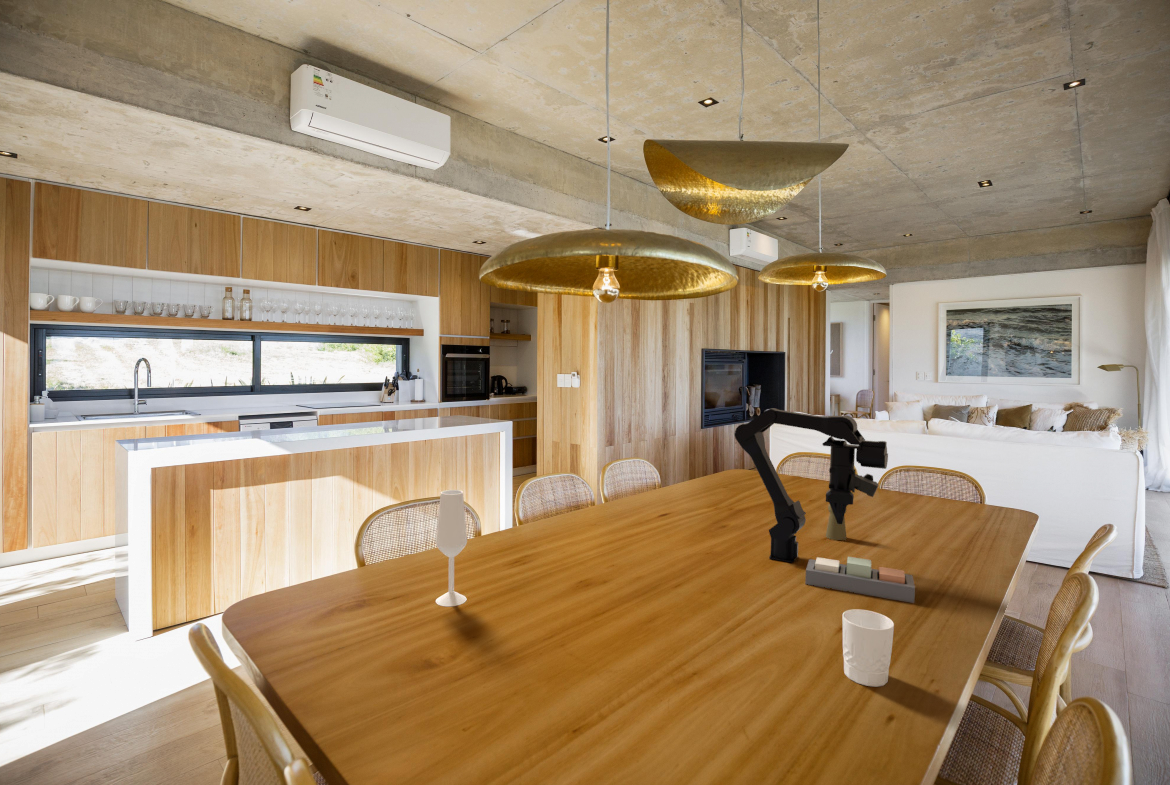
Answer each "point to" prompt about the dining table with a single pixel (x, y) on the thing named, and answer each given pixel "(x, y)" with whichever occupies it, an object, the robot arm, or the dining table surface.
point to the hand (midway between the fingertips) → (839, 523)
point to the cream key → (827, 565)
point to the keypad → (861, 583)
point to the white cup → (867, 646)
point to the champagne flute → (451, 538)
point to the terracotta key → (891, 575)
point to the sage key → (859, 567)
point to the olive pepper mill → (835, 527)
